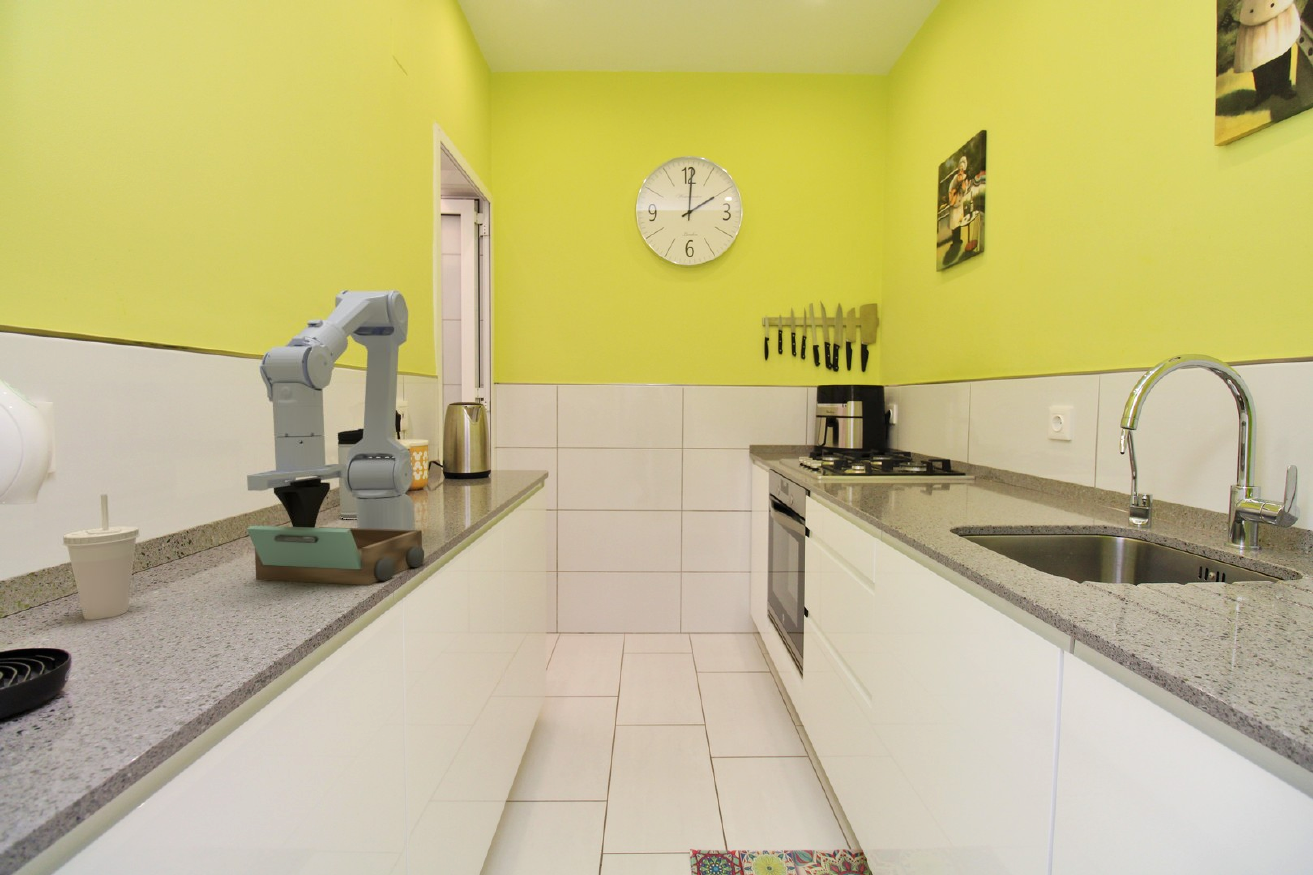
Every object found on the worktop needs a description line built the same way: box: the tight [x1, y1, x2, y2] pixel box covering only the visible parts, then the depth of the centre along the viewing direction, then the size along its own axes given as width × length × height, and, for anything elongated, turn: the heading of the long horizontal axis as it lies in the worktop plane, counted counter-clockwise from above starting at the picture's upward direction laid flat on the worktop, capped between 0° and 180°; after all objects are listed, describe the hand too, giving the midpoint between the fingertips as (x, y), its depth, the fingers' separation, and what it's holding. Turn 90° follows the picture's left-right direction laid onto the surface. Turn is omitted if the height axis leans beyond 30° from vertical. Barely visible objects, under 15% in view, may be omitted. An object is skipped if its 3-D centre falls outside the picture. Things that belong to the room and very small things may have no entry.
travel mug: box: [337, 428, 371, 518], centre depth 129 cm, size 6×7×20 cm
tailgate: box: [246, 525, 362, 569], centre depth 77 cm, size 2×15×6 cm, turn 79°
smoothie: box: [62, 493, 140, 621], centre depth 66 cm, size 6×6×14 cm
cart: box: [254, 526, 425, 586], centre depth 84 cm, size 12×20×5 cm, turn 79°
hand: (304, 536), depth 77 cm, fingers closed, pressing on tailgate
